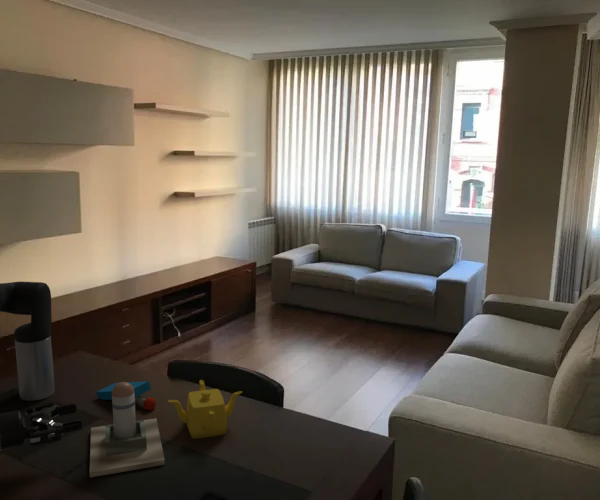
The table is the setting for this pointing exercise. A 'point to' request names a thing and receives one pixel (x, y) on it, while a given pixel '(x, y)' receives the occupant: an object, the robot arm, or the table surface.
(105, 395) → the lever
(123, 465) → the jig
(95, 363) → the table surface
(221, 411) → the teapot
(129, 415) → the brown-capped white canister
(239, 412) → the table surface
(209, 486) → the table surface
